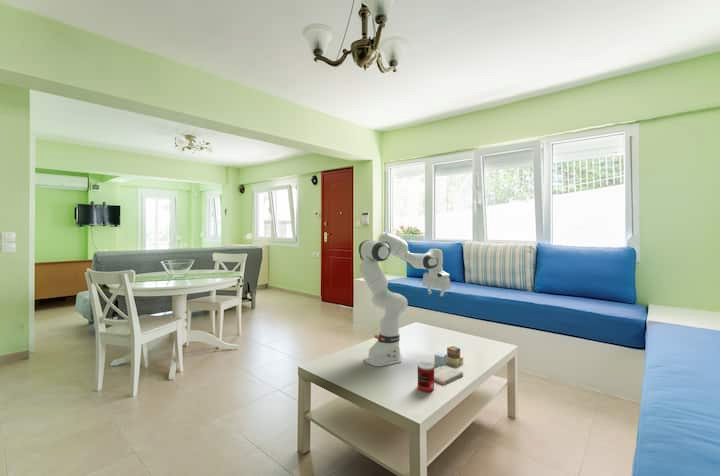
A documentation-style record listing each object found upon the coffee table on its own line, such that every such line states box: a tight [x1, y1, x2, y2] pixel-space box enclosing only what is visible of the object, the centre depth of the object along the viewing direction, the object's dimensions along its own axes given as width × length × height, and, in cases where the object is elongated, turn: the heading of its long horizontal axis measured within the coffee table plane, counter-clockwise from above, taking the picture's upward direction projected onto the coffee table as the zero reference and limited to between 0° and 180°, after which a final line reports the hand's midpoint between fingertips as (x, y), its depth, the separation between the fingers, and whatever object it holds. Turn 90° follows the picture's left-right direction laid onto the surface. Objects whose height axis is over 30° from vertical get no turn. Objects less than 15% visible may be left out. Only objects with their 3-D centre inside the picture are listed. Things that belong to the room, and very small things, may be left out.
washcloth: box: [434, 365, 464, 386], centre depth 163 cm, size 12×18×3 cm, turn 130°
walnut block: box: [446, 345, 461, 359], centre depth 180 cm, size 5×5×5 cm
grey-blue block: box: [434, 351, 448, 367], centre depth 177 cm, size 5×5×6 cm
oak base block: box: [447, 355, 464, 368], centre depth 180 cm, size 7×7×4 cm
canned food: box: [417, 361, 435, 393], centre depth 150 cm, size 8×8×11 cm
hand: (435, 294), depth 205 cm, fingers open, 8 cm apart
